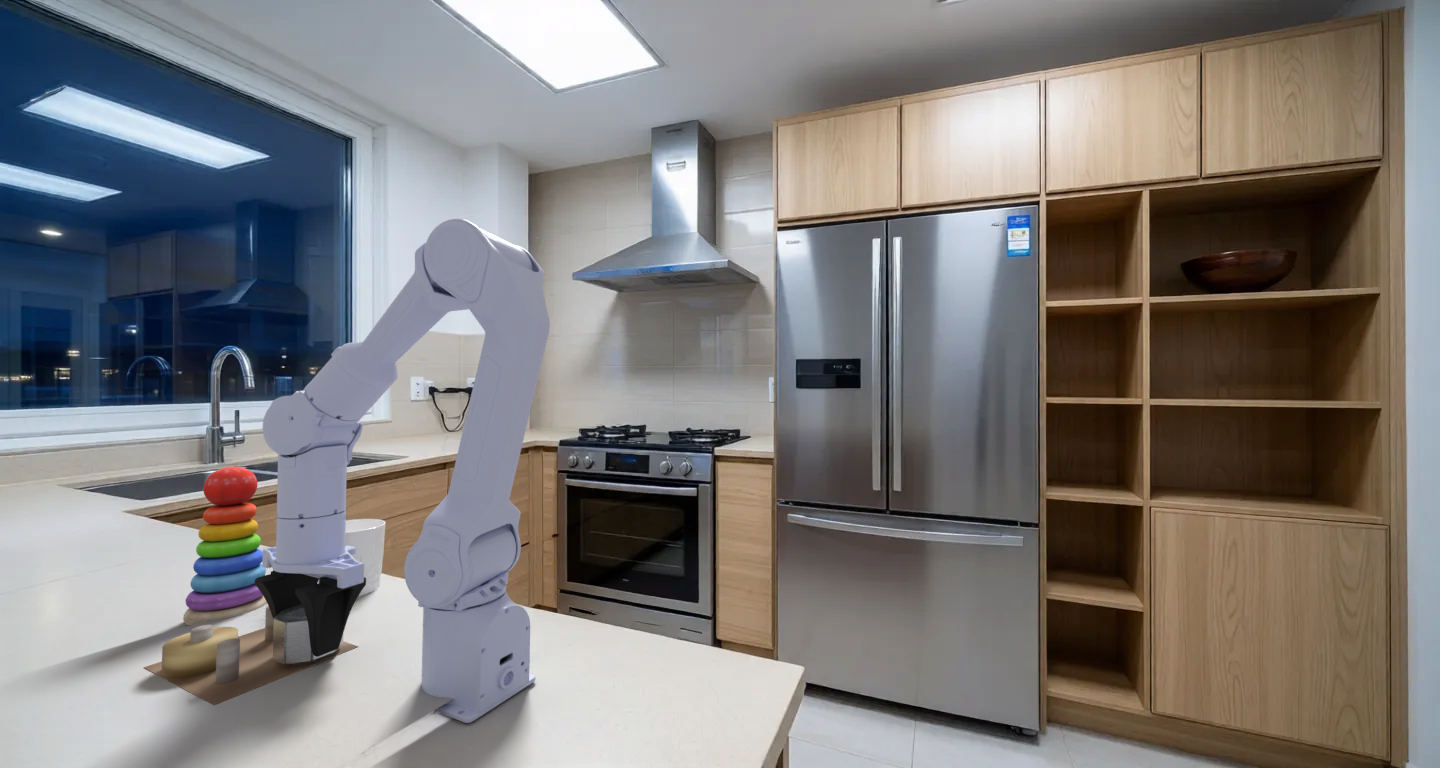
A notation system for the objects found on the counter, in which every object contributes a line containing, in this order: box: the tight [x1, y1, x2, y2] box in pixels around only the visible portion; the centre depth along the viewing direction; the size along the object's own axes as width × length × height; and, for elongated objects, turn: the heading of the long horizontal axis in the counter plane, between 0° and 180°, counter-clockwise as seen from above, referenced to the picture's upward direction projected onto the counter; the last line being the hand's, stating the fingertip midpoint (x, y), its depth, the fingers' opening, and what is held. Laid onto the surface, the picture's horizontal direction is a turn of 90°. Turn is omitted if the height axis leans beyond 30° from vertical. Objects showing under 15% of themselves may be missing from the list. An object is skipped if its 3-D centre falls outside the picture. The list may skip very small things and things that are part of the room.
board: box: [143, 606, 359, 706], centre depth 55 cm, size 14×12×5 cm
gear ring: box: [273, 604, 344, 664], centre depth 55 cm, size 5×5×4 cm
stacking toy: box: [182, 466, 268, 626], centre depth 67 cm, size 8×8×19 cm
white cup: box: [318, 518, 386, 597], centre depth 73 cm, size 8×8×10 cm
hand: (309, 645), depth 55 cm, fingers closed on gear ring, 5 cm apart
